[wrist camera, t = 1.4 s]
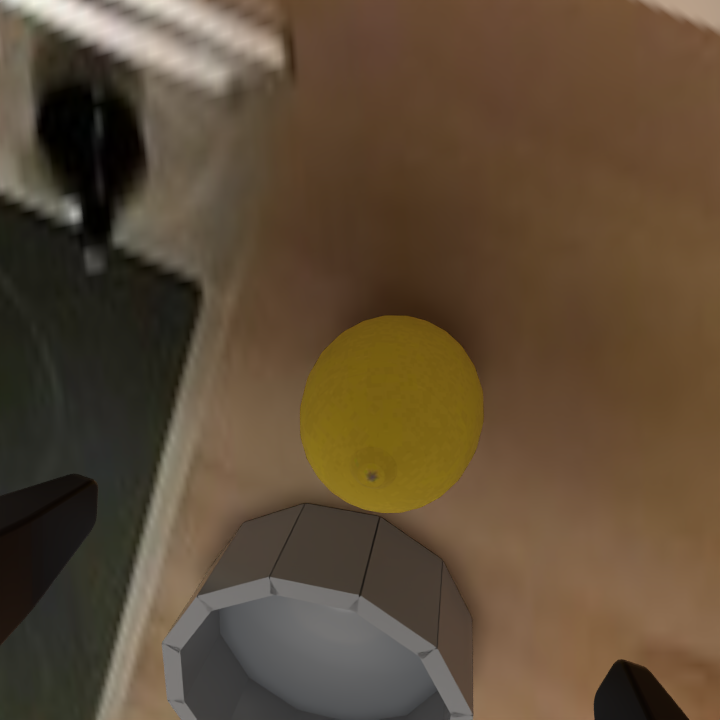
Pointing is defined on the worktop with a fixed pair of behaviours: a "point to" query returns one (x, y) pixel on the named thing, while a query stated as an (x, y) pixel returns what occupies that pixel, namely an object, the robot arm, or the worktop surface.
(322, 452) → the lemon
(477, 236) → the worktop surface
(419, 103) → the worktop surface
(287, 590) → the bowl
